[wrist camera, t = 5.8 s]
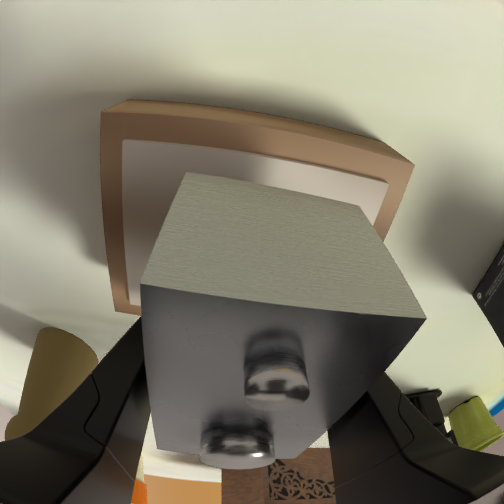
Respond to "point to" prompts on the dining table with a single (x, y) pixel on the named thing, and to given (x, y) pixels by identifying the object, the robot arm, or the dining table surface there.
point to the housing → (265, 319)
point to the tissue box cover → (283, 481)
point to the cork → (51, 377)
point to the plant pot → (474, 425)
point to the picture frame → (225, 171)
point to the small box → (493, 295)
